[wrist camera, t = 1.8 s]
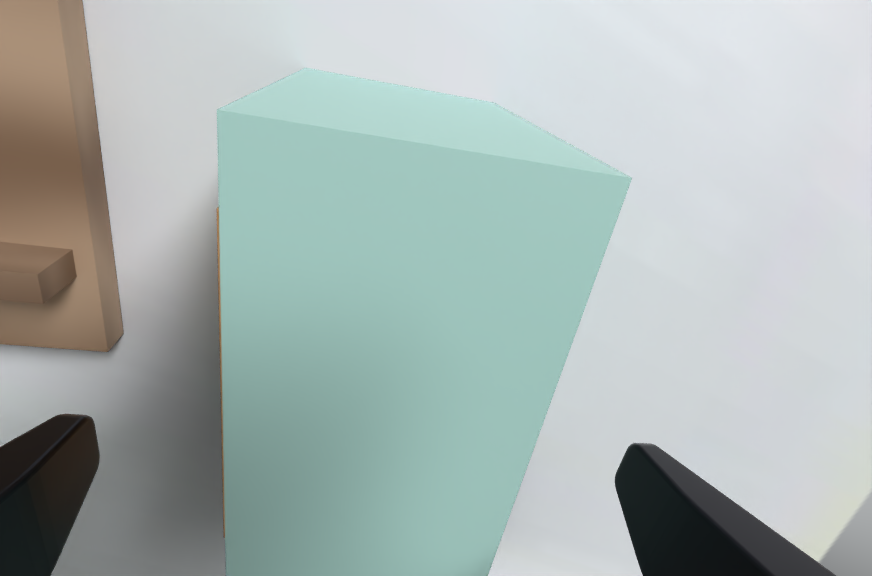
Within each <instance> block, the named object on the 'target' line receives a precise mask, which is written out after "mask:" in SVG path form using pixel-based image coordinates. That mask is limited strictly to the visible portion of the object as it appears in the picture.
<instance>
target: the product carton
mask: <svg viewBox="0 0 872 576" xmlns="http://www.w3.org/2000/svg"><path fill="white" fill-rule="evenodd" d="M217 137H218V189H219V207H218V208H217V247H218V294H219V341H220V388H221V435H222V482H223V529H224V538H225V554H226V576H488V574H489V571H490V568H491V565H492V562H493V560H494V557H495V554H496V551H497V549H498V546H499V543H500V540H501V538H502V535H503V532H504V529H505V527H506V524H507V521H508V518H509V516H510V513H511V510H512V507H513V505H514V502H515V499H516V496H517V494H518V491H519V488H520V485H521V483H522V480H523V477H524V474H525V472H526V469H527V466H528V463H529V461H530V458H531V455H532V452H533V450H534V447H535V444H536V441H537V438H538V436H539V433H540V430H541V427H542V425H543V422H544V419H545V416H546V414H547V411H548V408H549V405H550V403H551V400H552V397H553V394H554V392H555V389H556V386H557V383H558V381H559V378H560V375H561V372H562V370H563V367H564V364H565V361H566V359H567V356H568V353H569V350H570V348H571V345H572V342H573V339H574V337H575V334H576V331H577V328H578V326H579V323H580V320H581V317H582V315H583V312H584V309H585V306H586V303H587V301H588V298H589V295H590V292H591V290H592V287H593V284H594V281H595V279H596V276H597V273H598V270H599V268H600V265H601V262H602V259H603V257H604V254H605V251H606V248H607V246H608V243H609V240H610V237H611V235H612V232H613V229H614V226H615V224H616V221H617V218H618V215H619V213H620V210H621V207H622V204H623V202H624V199H625V196H626V193H627V191H628V188H629V185H630V182H631V180H632V178H631V177H629V176H627V175H626V174H624V173H622V172H620V171H618V170H617V169H615V168H613V167H611V166H609V165H607V164H606V163H604V162H602V161H600V160H598V159H596V158H595V157H593V156H591V155H589V154H587V153H585V152H584V151H582V150H580V149H578V148H576V147H574V146H573V145H571V144H569V143H567V142H565V141H563V140H562V139H560V138H558V137H556V136H554V135H552V134H551V133H549V132H547V131H545V130H543V129H541V128H540V127H538V126H536V125H534V124H532V123H530V122H529V121H527V120H525V119H523V118H521V117H519V116H518V115H516V114H514V113H512V112H510V111H508V110H507V109H505V108H503V107H501V106H499V105H497V104H496V103H493V102H488V101H482V100H477V99H471V98H466V97H461V96H455V95H450V94H444V93H439V92H434V91H428V90H423V89H417V88H412V87H407V86H401V85H396V84H391V83H385V82H380V81H374V80H369V79H364V78H358V77H353V76H347V75H342V74H337V73H331V72H326V71H320V70H315V69H310V68H304V69H302V70H300V71H298V72H296V73H294V74H292V75H289V76H287V77H285V78H283V79H281V80H279V81H277V82H275V83H272V84H270V85H268V86H266V87H264V88H262V89H260V90H258V91H255V92H253V93H251V94H249V95H247V96H245V97H243V98H241V99H238V100H236V101H234V102H232V103H230V104H228V105H226V106H224V107H221V108H219V109H217Z"/></svg>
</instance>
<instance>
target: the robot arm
mask: <svg viewBox="0 0 872 576" xmlns="http://www.w3.org/2000/svg"><path fill="white" fill-rule="evenodd" d="M99 459H100V454H99V448H98V442H97V436H96V430H95V424H94V421H93V419H92V418H91V417H90V416H87V415H75V414H60V415H57V416H55V417H53V418H51V419H49V420H47V421H46V422H44V423H42V424H40V425H39V426H37V427H35V428H33V429H31V430H30V431H28V432H26V433H24V434H22V435H21V436H19V437H17V438H15V439H14V440H12V441H10V442H8V443H6V444H5V445H3V446H1V447H0V576H50V575H51V573H52V571H53V569H54V567H55V565H56V563H57V561H58V559H59V556H60V554H61V552H62V550H63V547H64V545H65V543H66V540H67V538H68V536H69V534H70V531H71V529H72V527H73V524H74V522H75V520H76V518H77V515H78V513H79V511H80V508H81V506H82V504H83V502H84V499H85V497H86V495H87V492H88V490H89V488H90V485H91V483H92V481H93V479H94V476H95V474H96V472H97V469H98V465H99ZM615 487H616V491H617V494H618V497H619V501H620V504H621V507H622V511H623V514H624V517H625V521H626V524H627V527H628V530H629V534H630V537H631V540H632V544H633V547H634V550H635V554H636V557H637V560H638V563H639V566H640V569H641V572H642V574H643V576H836V575H835V574H833V573H832V572H831V571H829V570H828V569H826V568H825V567H824V566H822V565H821V564H820V563H818V562H817V561H815V560H814V559H813V558H811V557H810V556H808V555H807V554H806V553H804V552H803V551H801V550H800V549H799V548H797V547H796V546H795V545H793V544H792V543H790V542H789V541H788V540H786V539H785V538H783V537H782V536H781V535H779V534H778V533H777V532H775V531H774V530H772V529H771V528H770V527H768V526H767V525H765V524H764V523H763V522H761V521H760V520H758V519H757V518H756V517H754V516H753V515H752V514H750V513H749V512H747V511H746V510H745V509H743V508H742V507H740V506H739V505H738V504H736V503H735V502H734V501H732V500H731V499H729V498H728V497H727V496H725V495H724V494H722V493H721V492H720V491H718V490H717V489H716V488H714V487H713V486H711V485H710V484H709V483H707V482H706V481H704V480H703V479H702V478H700V477H699V476H698V475H696V474H695V473H693V472H692V471H691V470H689V469H688V468H686V467H685V466H684V465H682V464H681V463H679V462H678V461H677V460H675V459H674V458H673V457H671V456H670V455H668V454H667V453H666V452H664V451H663V450H661V449H660V448H659V447H657V446H656V445H653V444H647V443H633V444H631V445H630V446H629V447H628V449H627V451H626V453H625V455H624V457H623V459H622V461H621V464H620V466H619V468H618V470H617V472H616V475H615Z"/></svg>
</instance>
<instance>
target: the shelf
mask: <svg viewBox="0 0 872 576" xmlns="http://www.w3.org/2000/svg"><path fill="white" fill-rule="evenodd" d="M122 335H123V325H122V317H121V309H120V301H119V293H118V285H117V277H116V269H115V261H114V252H113V244H112V236H111V228H110V220H109V212H108V204H107V196H106V188H105V180H104V172H103V164H102V156H101V148H100V140H99V132H98V124H97V116H96V108H95V100H94V91H93V83H92V75H91V67H90V59H89V51H88V43H87V35H86V27H85V19H84V11H83V3H82V0H0V344H6V345H20V346H34V347H47V348H61V349H75V350H88V351H102V352H108V351H109V350H110V349H111V348H112V347H113V345H114V344H115V343H116V342H117V341H118V339H119V338H120V337H121V336H122Z"/></svg>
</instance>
